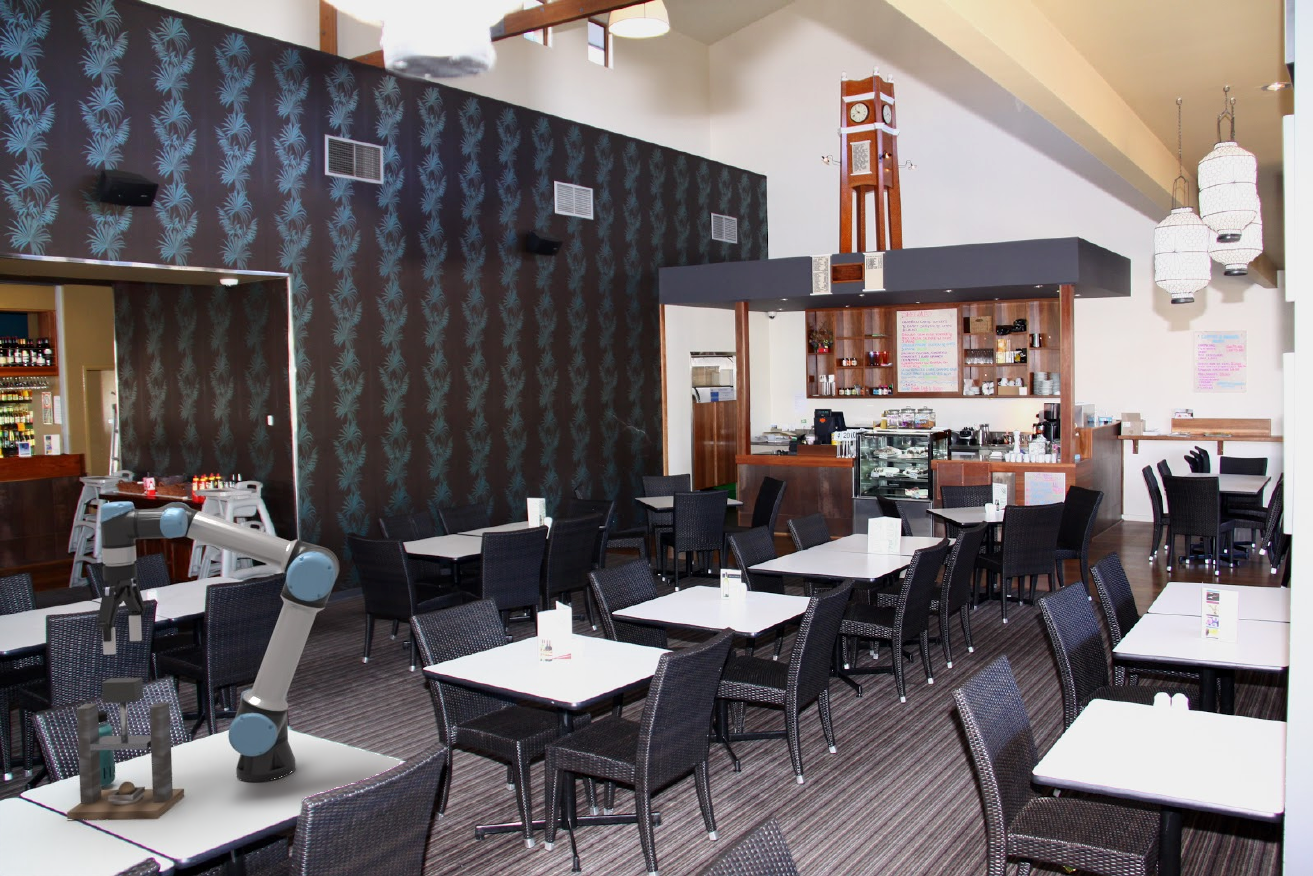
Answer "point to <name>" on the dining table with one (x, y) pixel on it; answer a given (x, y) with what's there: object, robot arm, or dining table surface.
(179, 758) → the dining table surface
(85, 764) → the press frame
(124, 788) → the walnut
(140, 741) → the crusher
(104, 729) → the beverage bottle
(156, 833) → the dining table surface
